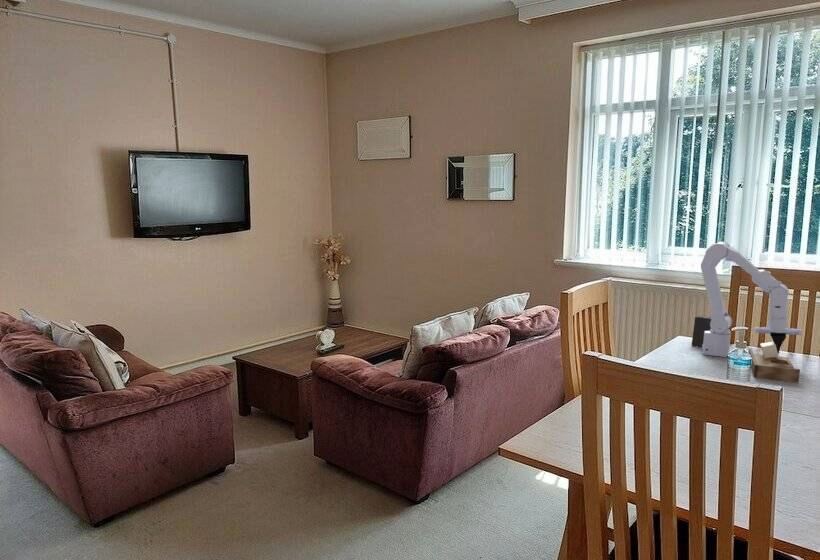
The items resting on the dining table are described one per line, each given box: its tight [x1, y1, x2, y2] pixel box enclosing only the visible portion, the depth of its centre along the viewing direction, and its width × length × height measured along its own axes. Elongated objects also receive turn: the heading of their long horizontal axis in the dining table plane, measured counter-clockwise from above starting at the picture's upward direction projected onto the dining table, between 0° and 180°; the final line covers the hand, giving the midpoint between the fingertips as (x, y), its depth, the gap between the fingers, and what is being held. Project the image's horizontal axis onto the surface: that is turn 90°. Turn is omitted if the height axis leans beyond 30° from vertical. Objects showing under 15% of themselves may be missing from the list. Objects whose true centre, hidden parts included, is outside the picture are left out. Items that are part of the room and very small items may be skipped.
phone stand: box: [691, 315, 711, 348], centre depth 238 cm, size 9×6×12 cm, turn 145°
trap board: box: [747, 347, 801, 383], centre depth 206 cm, size 13×25×4 cm, turn 154°
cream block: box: [759, 341, 779, 358], centre depth 214 cm, size 4×4×4 cm
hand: (777, 352), depth 213 cm, fingers closed, pressing on cream block
